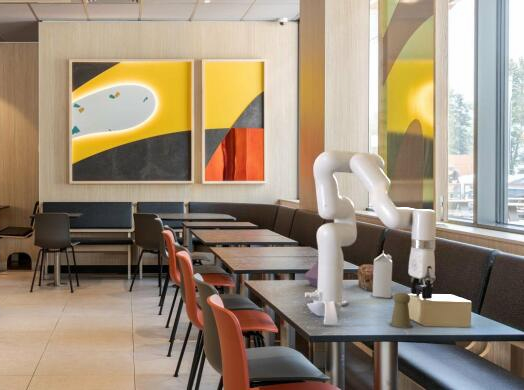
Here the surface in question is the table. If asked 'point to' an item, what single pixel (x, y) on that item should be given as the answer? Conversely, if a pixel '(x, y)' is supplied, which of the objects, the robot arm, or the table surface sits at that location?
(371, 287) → the bread
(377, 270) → the milk carton
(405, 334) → the table surface
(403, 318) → the cork
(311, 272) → the flask
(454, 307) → the chest
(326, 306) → the spoon rest
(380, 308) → the table surface
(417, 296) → the lid
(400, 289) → the table surface
